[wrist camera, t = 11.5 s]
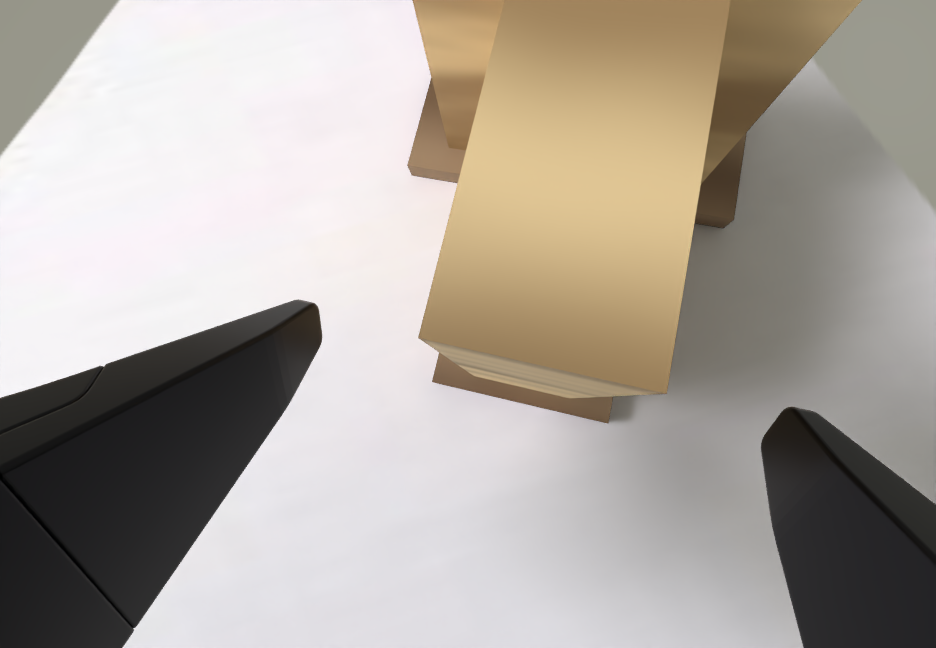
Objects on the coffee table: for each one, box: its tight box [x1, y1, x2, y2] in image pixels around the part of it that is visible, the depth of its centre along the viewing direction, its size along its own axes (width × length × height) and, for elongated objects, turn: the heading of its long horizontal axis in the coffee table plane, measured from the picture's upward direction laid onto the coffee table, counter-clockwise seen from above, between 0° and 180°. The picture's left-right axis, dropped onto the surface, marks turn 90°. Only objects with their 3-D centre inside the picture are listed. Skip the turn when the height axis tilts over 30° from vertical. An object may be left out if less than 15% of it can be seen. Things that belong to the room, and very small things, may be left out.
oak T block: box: [413, 0, 862, 398], centre depth 12 cm, size 12×10×10 cm
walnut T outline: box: [408, 78, 746, 423], centre depth 17 cm, size 14×13×1 cm
